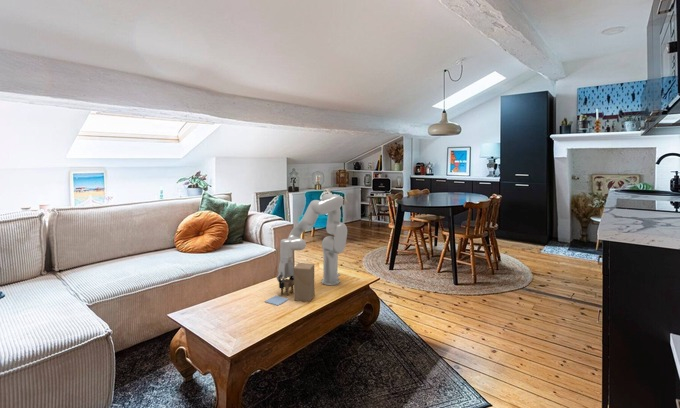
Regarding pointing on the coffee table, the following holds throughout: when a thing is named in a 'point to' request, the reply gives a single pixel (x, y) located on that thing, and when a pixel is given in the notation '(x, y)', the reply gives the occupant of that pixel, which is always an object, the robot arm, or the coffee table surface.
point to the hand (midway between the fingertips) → (286, 285)
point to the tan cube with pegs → (288, 284)
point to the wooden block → (304, 282)
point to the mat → (276, 300)
